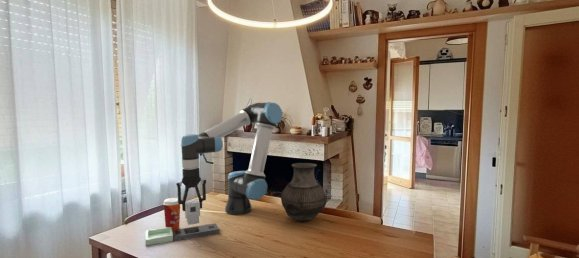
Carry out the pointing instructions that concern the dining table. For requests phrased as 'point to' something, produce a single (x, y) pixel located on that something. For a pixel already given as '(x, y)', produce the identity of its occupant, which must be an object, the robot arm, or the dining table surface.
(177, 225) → the coffee cup
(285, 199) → the vase
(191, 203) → the white upright box
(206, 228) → the rail
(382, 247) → the dining table surface
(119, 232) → the dining table surface
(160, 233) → the tray
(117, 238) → the dining table surface
